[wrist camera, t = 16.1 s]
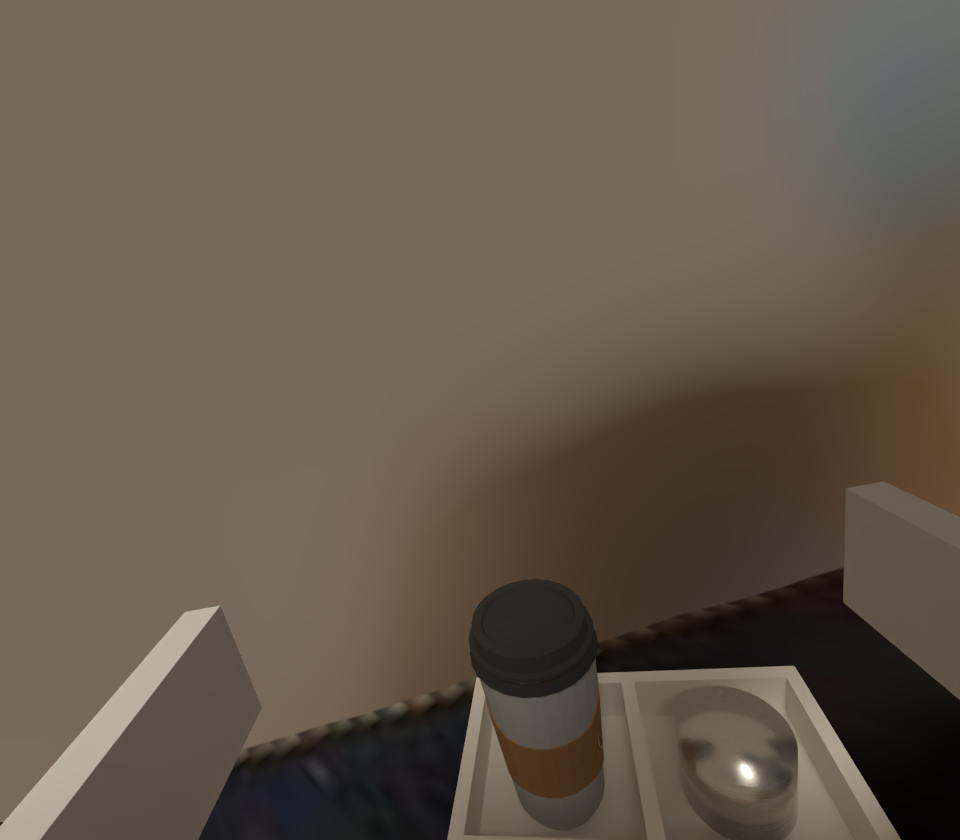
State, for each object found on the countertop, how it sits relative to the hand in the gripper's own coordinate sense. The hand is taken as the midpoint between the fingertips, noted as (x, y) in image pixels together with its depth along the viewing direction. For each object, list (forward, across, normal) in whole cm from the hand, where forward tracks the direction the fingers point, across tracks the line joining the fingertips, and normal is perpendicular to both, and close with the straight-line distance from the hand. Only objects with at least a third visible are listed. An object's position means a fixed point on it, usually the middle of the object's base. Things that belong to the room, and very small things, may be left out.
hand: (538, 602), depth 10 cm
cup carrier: (+16, +5, -30) cm, 34 cm away
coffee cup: (+17, 0, -29) cm, 34 cm away
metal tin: (+15, +11, -29) cm, 35 cm away
